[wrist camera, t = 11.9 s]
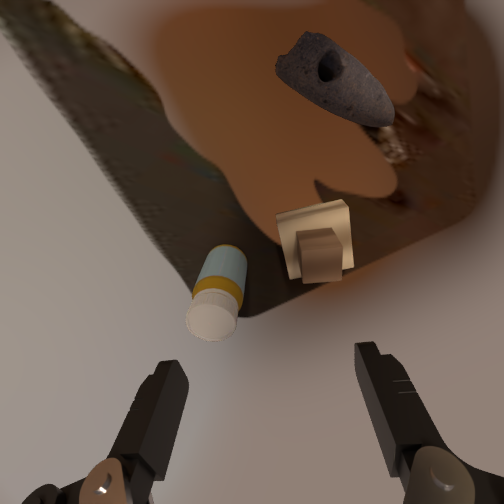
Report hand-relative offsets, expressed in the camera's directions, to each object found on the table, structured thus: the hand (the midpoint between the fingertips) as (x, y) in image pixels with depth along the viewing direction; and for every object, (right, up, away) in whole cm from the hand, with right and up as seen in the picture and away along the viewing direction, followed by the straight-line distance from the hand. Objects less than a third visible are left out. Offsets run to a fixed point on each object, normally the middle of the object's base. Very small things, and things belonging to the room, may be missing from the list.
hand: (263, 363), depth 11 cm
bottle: (-5, +4, +32) cm, 32 cm away
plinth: (+9, +8, +29) cm, 31 cm away
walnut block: (+9, +6, +26) cm, 28 cm away
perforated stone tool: (+10, +25, +20) cm, 33 cm away
